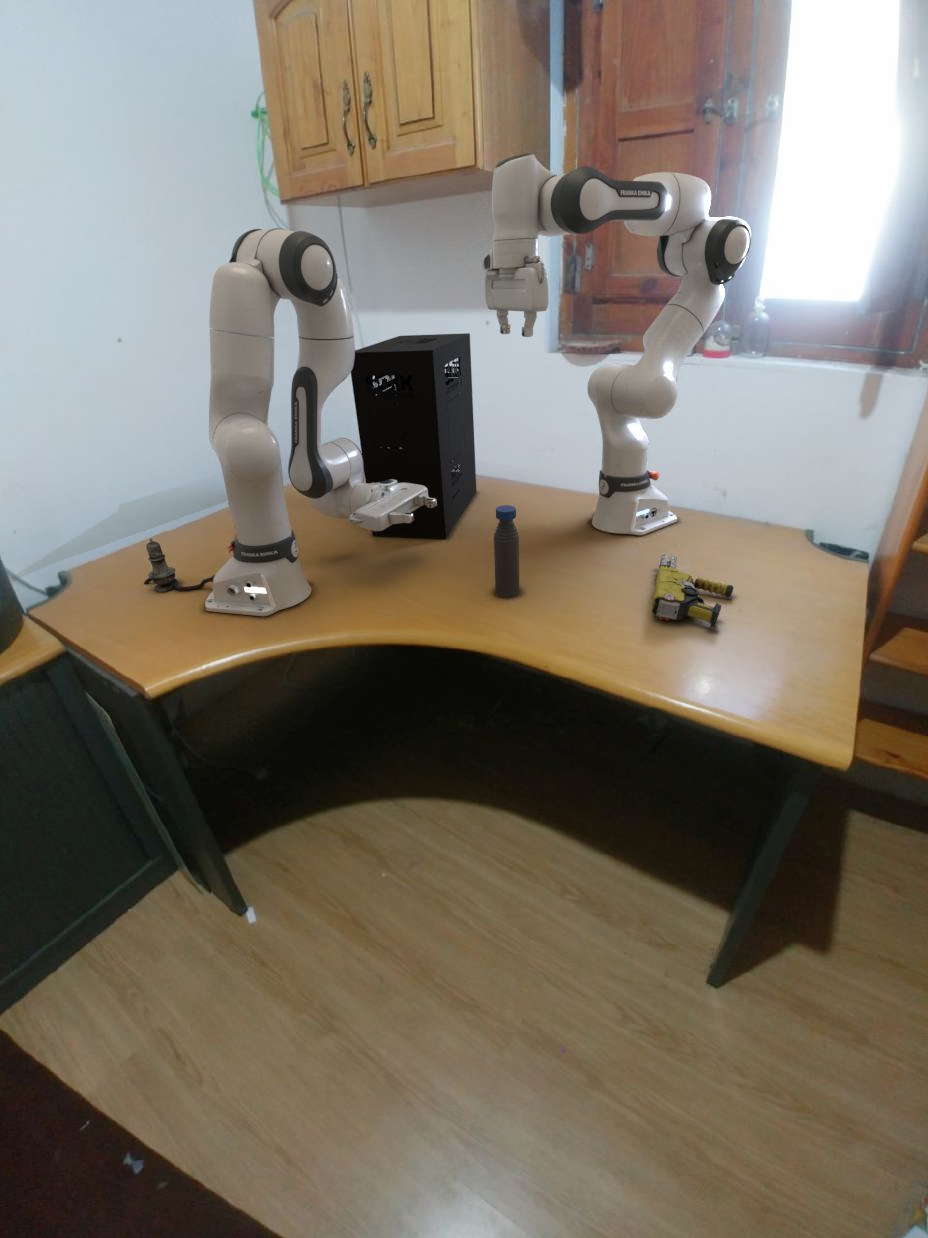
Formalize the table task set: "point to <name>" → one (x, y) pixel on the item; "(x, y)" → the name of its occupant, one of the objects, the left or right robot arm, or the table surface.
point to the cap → (506, 512)
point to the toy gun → (684, 594)
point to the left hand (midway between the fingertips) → (423, 510)
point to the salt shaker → (160, 568)
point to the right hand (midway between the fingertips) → (516, 335)
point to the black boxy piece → (418, 424)
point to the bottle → (506, 559)
